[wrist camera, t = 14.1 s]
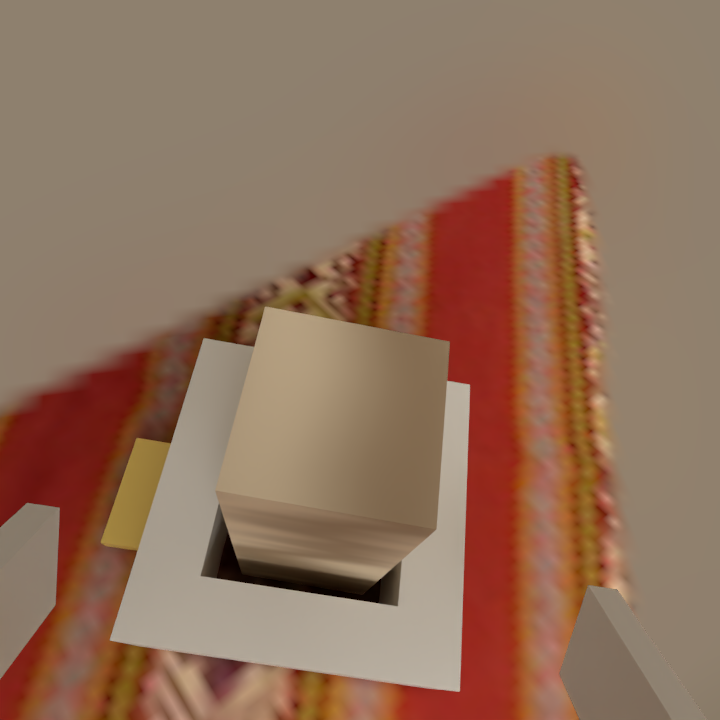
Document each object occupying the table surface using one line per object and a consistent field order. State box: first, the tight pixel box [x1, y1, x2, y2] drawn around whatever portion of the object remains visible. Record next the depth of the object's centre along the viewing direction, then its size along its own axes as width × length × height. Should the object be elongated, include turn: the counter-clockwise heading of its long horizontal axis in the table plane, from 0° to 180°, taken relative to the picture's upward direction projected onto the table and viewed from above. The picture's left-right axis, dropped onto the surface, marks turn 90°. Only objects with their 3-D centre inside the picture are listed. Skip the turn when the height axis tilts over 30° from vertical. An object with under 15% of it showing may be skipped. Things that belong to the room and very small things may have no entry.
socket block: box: [101, 338, 470, 692], centre depth 20 cm, size 12×10×4 cm
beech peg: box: [215, 306, 450, 595], centre depth 17 cm, size 4×4×11 cm
